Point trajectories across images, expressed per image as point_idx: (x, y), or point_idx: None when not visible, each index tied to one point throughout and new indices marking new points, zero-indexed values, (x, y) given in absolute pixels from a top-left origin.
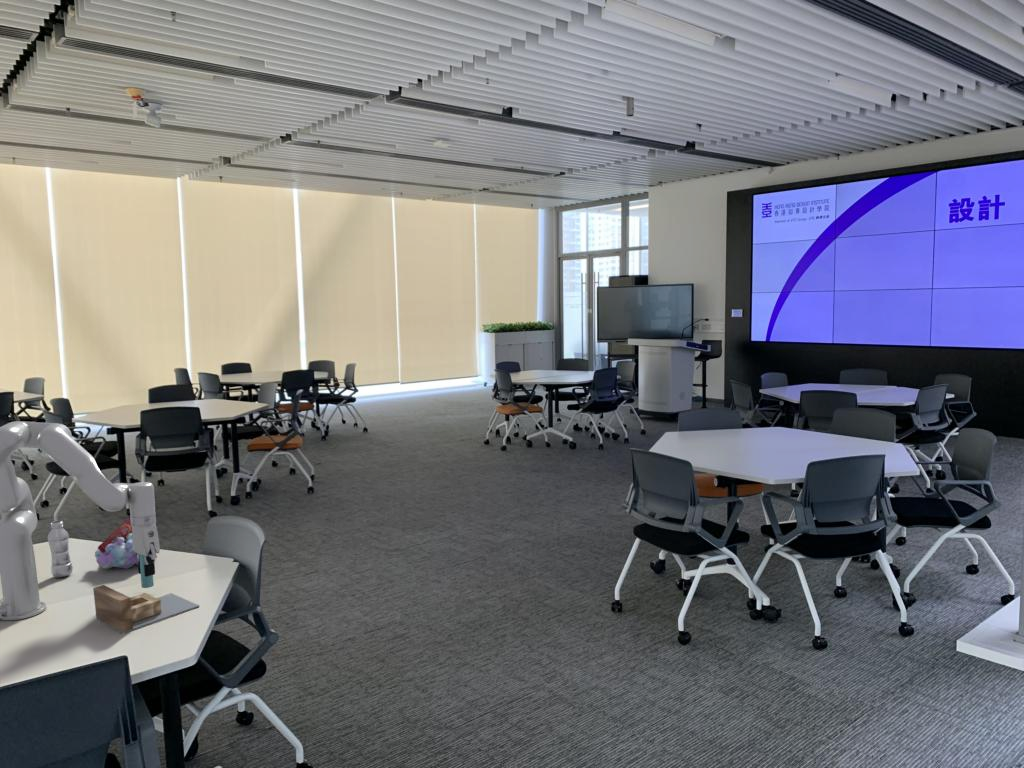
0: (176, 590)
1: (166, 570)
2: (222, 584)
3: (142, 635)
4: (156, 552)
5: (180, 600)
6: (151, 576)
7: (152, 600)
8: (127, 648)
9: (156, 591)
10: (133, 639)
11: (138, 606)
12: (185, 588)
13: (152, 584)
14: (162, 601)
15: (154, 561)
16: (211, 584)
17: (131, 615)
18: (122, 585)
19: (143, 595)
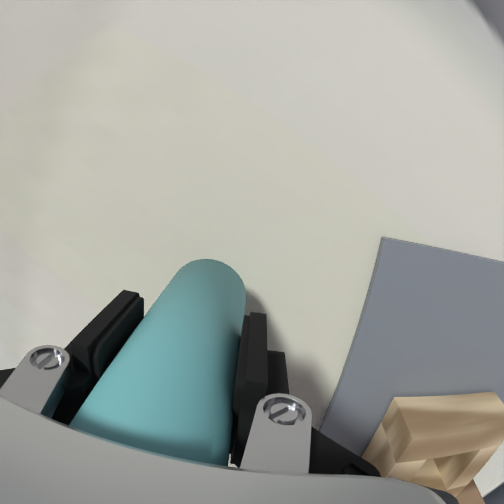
0: (349, 173)
1: (14, 36)
2: (486, 31)
3: (498, 452)
4: (286, 472)
5: (494, 284)
6: (239, 320)
7: (491, 440)
8: (495, 478)
9: (239, 240)
10: (489, 467)
11: (470, 478)
12: (373, 126)
13: (241, 287)
14: (426, 333)
15: (309, 418)
16: (446, 37)
17: (478, 492)
18: (8, 264)
19: (424, 450)
